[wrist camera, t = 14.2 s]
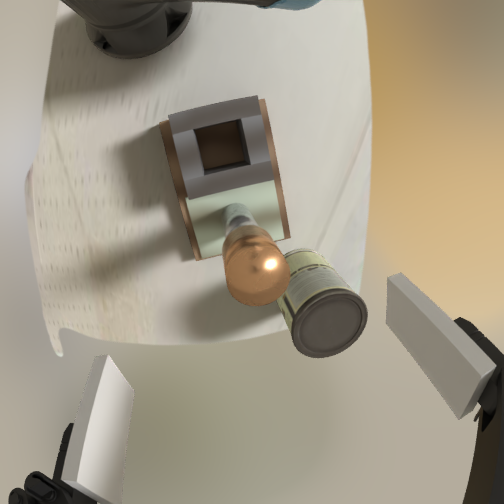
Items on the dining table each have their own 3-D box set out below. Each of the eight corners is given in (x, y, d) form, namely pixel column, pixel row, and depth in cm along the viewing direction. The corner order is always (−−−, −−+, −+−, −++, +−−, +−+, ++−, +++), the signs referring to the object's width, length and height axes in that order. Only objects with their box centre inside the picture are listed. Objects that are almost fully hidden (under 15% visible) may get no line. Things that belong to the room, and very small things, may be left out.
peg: (221, 239, 41) (234, 312, 25) (213, 203, 39) (219, 257, 23) (258, 230, 41) (294, 297, 25) (251, 194, 39) (285, 241, 23)
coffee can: (339, 276, 49) (379, 322, 37) (293, 314, 51) (320, 369, 38) (306, 234, 45) (344, 275, 33) (256, 277, 47) (275, 331, 34)
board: (161, 123, 36) (150, 120, 29) (261, 100, 37) (274, 92, 30) (196, 255, 44) (195, 280, 37) (287, 233, 45) (303, 253, 38)
